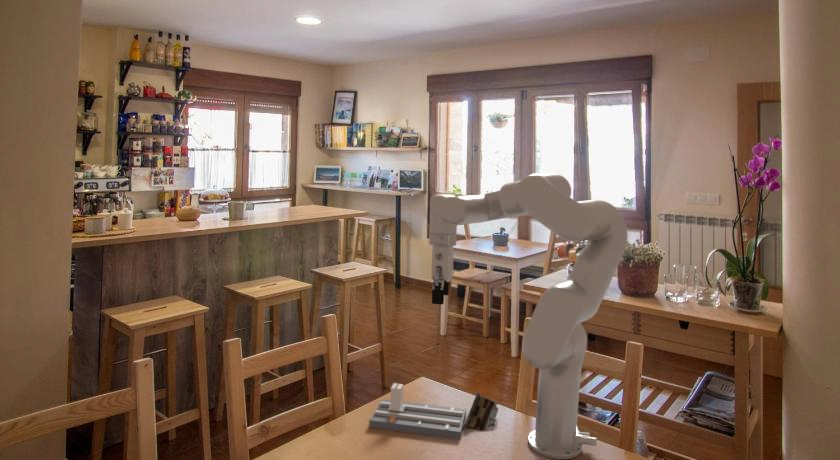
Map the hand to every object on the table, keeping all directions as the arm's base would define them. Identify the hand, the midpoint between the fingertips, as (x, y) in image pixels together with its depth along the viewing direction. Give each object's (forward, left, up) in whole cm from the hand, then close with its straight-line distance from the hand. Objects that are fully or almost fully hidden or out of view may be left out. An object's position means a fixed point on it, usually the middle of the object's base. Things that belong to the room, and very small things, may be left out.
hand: (440, 299), depth 151 cm
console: (+2, +17, -28) cm, 33 cm away
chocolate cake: (-14, +13, -29) cm, 34 cm away
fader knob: (+8, +17, -26) cm, 32 cm away
